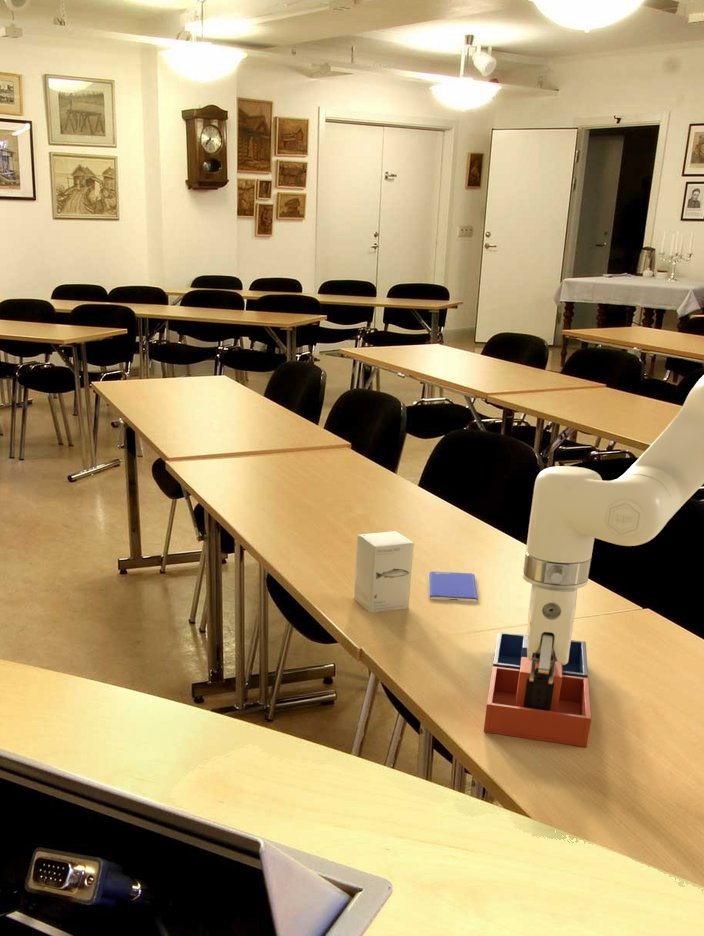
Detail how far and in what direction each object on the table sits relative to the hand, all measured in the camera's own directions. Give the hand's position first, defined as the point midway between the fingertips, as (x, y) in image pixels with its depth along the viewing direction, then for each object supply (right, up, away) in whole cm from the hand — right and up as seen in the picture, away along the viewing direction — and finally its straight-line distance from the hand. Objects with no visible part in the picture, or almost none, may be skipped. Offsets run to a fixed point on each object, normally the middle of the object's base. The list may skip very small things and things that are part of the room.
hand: (537, 698), depth 119 cm
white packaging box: (-12, +13, +40) cm, 43 cm away
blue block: (+5, +2, +12) cm, 13 cm away
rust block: (0, 0, 0) cm, 0 cm away
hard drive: (+3, +15, +45) cm, 48 cm away
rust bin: (0, -3, +1) cm, 3 cm away
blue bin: (+5, +2, +12) cm, 13 cm away
